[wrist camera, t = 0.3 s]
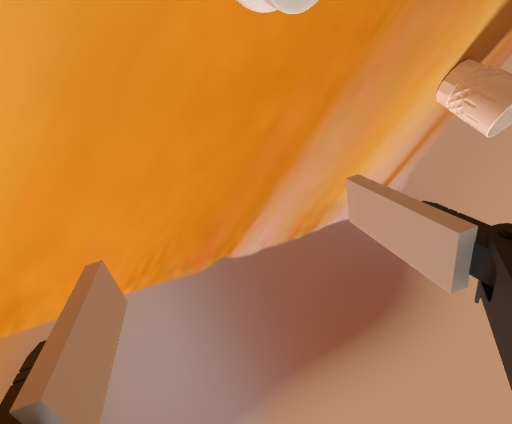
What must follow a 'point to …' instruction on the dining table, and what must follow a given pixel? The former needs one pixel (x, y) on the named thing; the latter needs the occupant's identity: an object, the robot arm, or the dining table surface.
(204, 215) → the dining table surface
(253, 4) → the supplement bottle
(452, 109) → the white cup
